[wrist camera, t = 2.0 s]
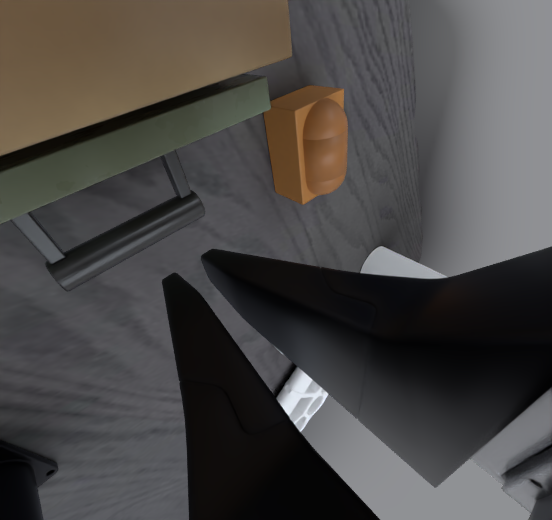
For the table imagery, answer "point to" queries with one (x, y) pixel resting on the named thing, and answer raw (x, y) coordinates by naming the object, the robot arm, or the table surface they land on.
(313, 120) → the bread loaf
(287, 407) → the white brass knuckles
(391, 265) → the cylindrical container
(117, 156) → the drawer
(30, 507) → the robot arm
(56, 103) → the cabinet
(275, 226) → the table surface
